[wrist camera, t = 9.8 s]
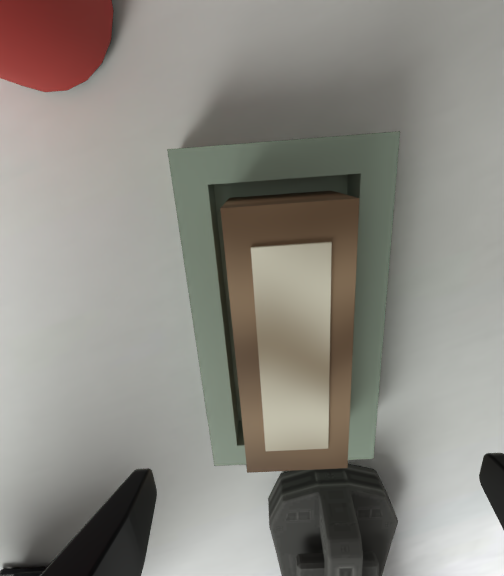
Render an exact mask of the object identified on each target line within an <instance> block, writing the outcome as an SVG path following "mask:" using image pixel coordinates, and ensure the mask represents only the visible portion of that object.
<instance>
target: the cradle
mask: <svg viewBox="0 0 504 576" xmlns="http://www.w3.org/2000/svg"><path fill="white" fill-rule="evenodd" d="M399 138H400V131H398V132H385V133H372V134H359V135H346V136H333V137H321V138H308V139H295V140H282V141H269V142H256V143H243V144H230V145H217V146H204V147H192V148H179V149H167V151H168V157H169V164H170V171H171V177H172V184H173V191H174V198H175V204H176V211H177V218H178V225H179V231H180V238H181V245H182V251H183V258H184V265H185V272H186V278H187V285H188V292H189V298H190V305H191V312H192V319H193V325H194V332H195V339H196V346H197V352H198V359H199V366H200V372H201V379H202V386H203V393H204V399H205V406H206V413H207V419H208V426H209V433H210V440H211V446H212V453H213V460H214V466H225V465H246V455H245V445H244V436H243V426H242V416H241V406H240V396H239V387H238V377H237V367H236V357H235V347H234V338H233V328H232V318H231V308H230V299H229V289H228V279H227V269H226V259H225V250H224V240H223V230H222V220H221V211H220V208H221V207H222V206H223V205H224V204H225V202H226V201H227V200H228V199H229V198H235V197H248V196H262V195H276V194H290V193H304V192H318V191H335V192H338V193H342V194H346V195H349V196H353V197H356V198H359V219H358V242H357V264H356V287H355V310H354V332H353V355H352V377H351V400H350V422H349V445H348V460H358V459H373V458H374V446H375V433H376V421H377V409H378V397H379V384H380V372H381V360H382V347H383V335H384V323H385V311H386V298H387V286H388V274H389V261H390V249H391V237H392V224H393V212H394V200H395V188H396V175H397V163H398V151H399Z"/></svg>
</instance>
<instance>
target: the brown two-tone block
mask: <svg viewBox="0 0 504 576" xmlns="http://www.w3.org/2000/svg"><path fill="white" fill-rule="evenodd" d="M220 211H221V220H222V230H223V240H224V250H225V259H226V269H227V279H228V289H229V299H230V308H231V318H232V328H233V338H234V347H235V357H236V367H237V377H238V387H239V396H240V406H241V416H242V426H243V436H244V445H245V455H246V465H247V473H248V472H270V471H293V470H315V469H338V468H347V467H348V445H349V422H350V400H351V377H352V355H353V332H354V310H355V287H356V264H357V242H358V219H359V198H356V197H353V196H349V195H346V194H342V193H338V192H335V191H318V192H304V193H290V194H276V195H262V196H248V197H235V198H229V199H228V200H227V201H226V202H225V204H224V205H223V206H222V207H221V208H220Z"/></svg>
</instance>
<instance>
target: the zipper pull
mask: <svg viewBox="0 0 504 576" xmlns="http://www.w3.org/2000/svg"><path fill="white" fill-rule="evenodd" d="M268 501H269V525H270V530H271V534H272V538H273V542H274V545H275V549H276V553H277V557H278V562H279V566H280V570H281V574H282V576H382V573H383V569H384V566H385V562H386V559H387V555H388V552H389V549H390V545H391V542H392V539H393V536H394V533H395V529H396V526H397V523H398V520H397V517H396V515H395V512H394V510H393V507H392V505H391V502H390V500H389V497H388V495H387V493H386V490H385V488H384V486H383V484H382V482H381V480H380V478H379V476H378V474H377V472H376V471H375V470H374V469H370V468H365V467H360V466H355V465H351V464H348V467H347V468H338V469H315V470H293V471H288V472H285V473H282V474H281V475H280V476H279V478H278V480H277V482H276V484H275V486H274V488H273V490H272V492H271V494H270V496H269V498H268Z"/></svg>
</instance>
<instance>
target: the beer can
mask: <svg viewBox="0 0 504 576" xmlns="http://www.w3.org/2000/svg"><path fill="white" fill-rule="evenodd" d="M112 22H113V6H112V0H0V78H2V79H5V80H7V81H10V82H13V83H16V84H19V85H21V86H25V87H29V88H32V89H36V90H40V91H43V92H52V91H64V90H69V89H71V88H73V87H75V86H77V85H79V84H81V83H82V82H84V81H86V80H88V79H89V77H90V76H91V75H92V74H93V73H94V72H95V71H96V69H97V68H98V67H99V66H100V65H101V64H102V62H103V59H104V57H105V54H106V52H107V49H108V47H109V44H110V41H111V35H112Z"/></svg>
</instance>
